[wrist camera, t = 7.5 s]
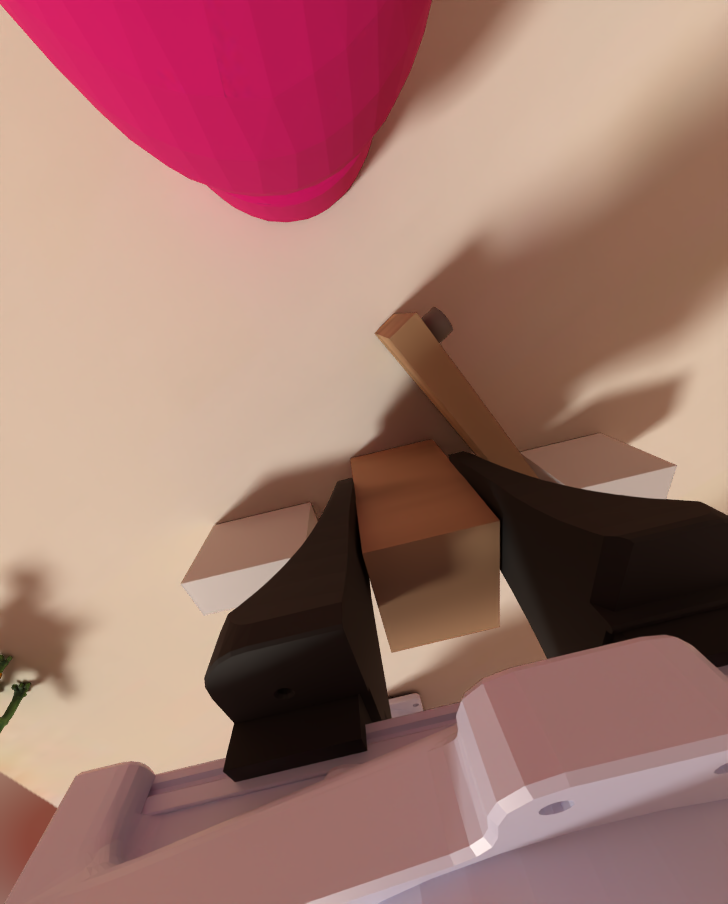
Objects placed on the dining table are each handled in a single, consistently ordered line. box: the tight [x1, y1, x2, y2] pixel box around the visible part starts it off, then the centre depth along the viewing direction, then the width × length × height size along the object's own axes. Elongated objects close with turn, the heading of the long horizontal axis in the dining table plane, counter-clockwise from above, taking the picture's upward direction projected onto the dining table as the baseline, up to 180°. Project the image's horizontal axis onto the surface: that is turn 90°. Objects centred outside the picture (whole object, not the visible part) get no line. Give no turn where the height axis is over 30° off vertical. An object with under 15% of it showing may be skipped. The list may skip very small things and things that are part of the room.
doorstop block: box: [350, 439, 500, 652], centre depth 12 cm, size 5×4×6 cm
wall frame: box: [181, 433, 677, 616], centre depth 13 cm, size 2×20×4 cm, turn 102°
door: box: [375, 307, 539, 479], centre depth 11 cm, size 2×9×3 cm, turn 43°
